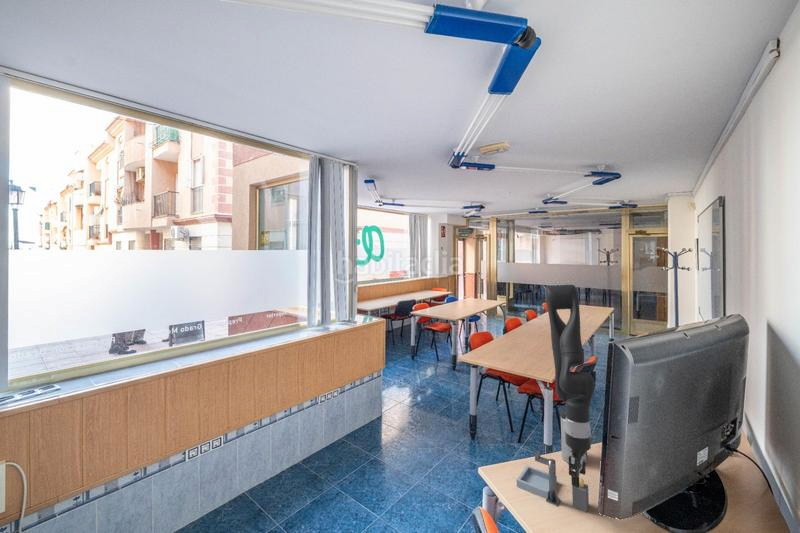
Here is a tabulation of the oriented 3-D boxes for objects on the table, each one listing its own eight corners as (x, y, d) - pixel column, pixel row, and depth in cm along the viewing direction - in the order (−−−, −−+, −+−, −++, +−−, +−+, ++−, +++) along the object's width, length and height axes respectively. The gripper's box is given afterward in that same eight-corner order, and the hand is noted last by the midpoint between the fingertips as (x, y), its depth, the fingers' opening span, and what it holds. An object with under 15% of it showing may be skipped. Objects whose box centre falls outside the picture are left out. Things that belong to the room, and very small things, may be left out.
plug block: (575, 500, 114) (574, 474, 114) (588, 505, 112) (588, 479, 111) (572, 507, 111) (572, 480, 111) (586, 512, 109) (585, 485, 108)
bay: (527, 471, 130) (526, 465, 130) (556, 482, 123) (556, 476, 123) (516, 486, 122) (516, 479, 122) (548, 499, 115) (547, 492, 115)
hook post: (538, 491, 119) (537, 448, 119) (560, 500, 114) (558, 456, 114) (534, 496, 116) (533, 453, 116) (557, 506, 112) (555, 461, 111)
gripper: (571, 420, 119) (572, 465, 119) (559, 436, 108) (560, 486, 108) (594, 426, 114) (595, 473, 114) (585, 444, 103) (586, 496, 103)
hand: (578, 479), depth 111 cm, fingers open, 8 cm apart
